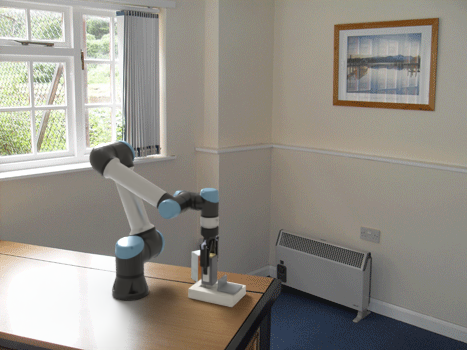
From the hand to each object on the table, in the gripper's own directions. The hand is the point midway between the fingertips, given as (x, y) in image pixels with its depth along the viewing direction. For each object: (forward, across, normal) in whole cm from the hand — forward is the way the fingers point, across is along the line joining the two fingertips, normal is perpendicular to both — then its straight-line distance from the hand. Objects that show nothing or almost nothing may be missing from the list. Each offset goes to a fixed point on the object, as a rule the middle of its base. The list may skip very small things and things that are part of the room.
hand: (209, 278), depth 223 cm
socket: (+7, 0, -4) cm, 8 cm away
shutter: (+3, 0, -10) cm, 10 cm away
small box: (+7, +13, +10) cm, 18 cm away
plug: (+2, 0, 0) cm, 2 cm away
